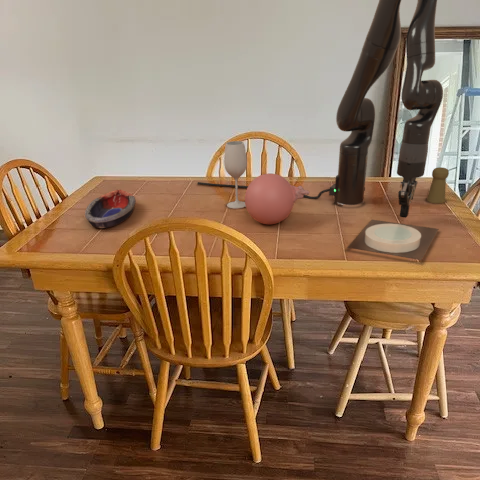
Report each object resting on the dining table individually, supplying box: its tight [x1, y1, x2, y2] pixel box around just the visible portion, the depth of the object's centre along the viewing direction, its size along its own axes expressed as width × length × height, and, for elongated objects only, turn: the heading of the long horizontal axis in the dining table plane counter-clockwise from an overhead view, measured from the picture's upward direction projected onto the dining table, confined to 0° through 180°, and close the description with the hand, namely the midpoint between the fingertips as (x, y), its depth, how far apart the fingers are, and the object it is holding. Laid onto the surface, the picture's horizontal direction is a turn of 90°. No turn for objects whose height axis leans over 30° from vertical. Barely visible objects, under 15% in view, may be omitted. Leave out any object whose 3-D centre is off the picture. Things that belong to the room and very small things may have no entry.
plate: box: [364, 224, 421, 253], centre depth 139 cm, size 15×15×3 cm
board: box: [347, 219, 439, 261], centre depth 142 cm, size 20×24×1 cm
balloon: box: [244, 173, 311, 225], centre depth 154 cm, size 15×20×15 cm
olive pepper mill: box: [426, 167, 450, 204], centre depth 168 cm, size 6×6×11 cm
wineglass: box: [223, 140, 248, 210], centre depth 169 cm, size 8×8×21 cm
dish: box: [84, 189, 136, 229], centre depth 168 cm, size 16×31×5 cm, turn 177°
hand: (403, 216), depth 150 cm, fingers closed
